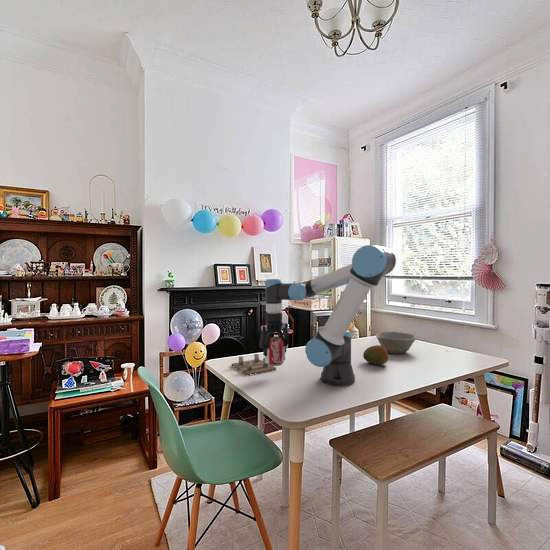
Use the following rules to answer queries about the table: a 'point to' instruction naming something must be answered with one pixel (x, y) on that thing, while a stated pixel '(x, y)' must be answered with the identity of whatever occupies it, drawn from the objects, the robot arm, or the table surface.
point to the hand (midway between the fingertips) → (275, 361)
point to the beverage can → (276, 351)
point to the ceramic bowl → (396, 341)
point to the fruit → (376, 355)
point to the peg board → (253, 365)
